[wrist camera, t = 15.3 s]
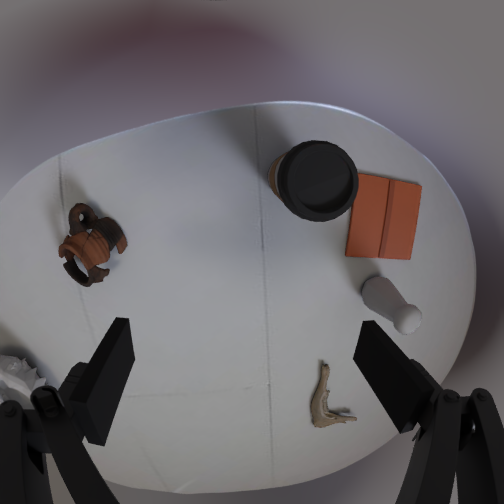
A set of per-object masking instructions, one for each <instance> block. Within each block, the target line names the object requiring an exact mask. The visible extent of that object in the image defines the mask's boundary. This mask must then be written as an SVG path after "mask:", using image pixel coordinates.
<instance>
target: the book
mask: <svg viewBox="0 0 504 504" xmlns="http://www.w3.org/2000/svg"><path fill="white" fill-rule="evenodd" d="M358 177H359V189H358V192H357V196H356V198H355V200H354V202H353V204H352V210H351V218H350V225H349V232H348V239H347V245H346V251H345V256H351V257H369V258H386V259H404V260H410V258H411V253H412V248H413V242H414V237H415V231H416V225H417V219H418V213H419V206H420V198H421V190H422V186H420V185H416V184H411V183H407V182H402V181H397V180H392V179H387V178H382V177H377V176H372V175H366V174H360V173H358Z"/></svg>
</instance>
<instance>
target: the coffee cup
mask: <svg viewBox="0 0 504 504" xmlns="http://www.w3.org/2000/svg"><path fill="white" fill-rule="evenodd" d="M268 182H269V185H270V187H271V189H272V191H273V192H274V194H275V195H276V196H277V197H278V198H279V199H280V200H281V201H282V202H283V203H284V204H285V206H286V207H287V208H288V209H289V210H290V211H291V212H292V213H293V214H295V215H297V216H298V217H300V218H302V219H306V220H309V221H314V222H325V221H329V220H332V219H335V218H337V217H338V216H340V215H342V214H343V213H345V212H346V211H347V210H348V209H349V208H350V207H351V205H352V204H353V202H354V200H355V198H356V196H357V192H358V189H359V177H358V172H357V169H356V166H355V164H354V162H353V160H352V159H351V158H350V157H349V156H348V154H347V153H346V152H345V151H344V150H343V149H341V148H340V147H338V146H337V145H335V144H332V143H330V142H327V141H316V140H311V141H307V142H302V143H300V144H298V145H297V146H295V147H293V148H292V149H291V150H290V151H288V152H286V153H285V154H283V155H282V156H280V157H279V158H278V159H276V160H275V161H274V162H273V163H272V165H271V167H270V169H269V172H268Z"/></svg>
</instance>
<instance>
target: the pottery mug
mask: <svg viewBox="0 0 504 504" xmlns="http://www.w3.org/2000/svg"><path fill="white" fill-rule="evenodd" d="M80 213H81V214H83V217H84V218H83V220H82V221H80V219H79V216H80ZM69 224H70V231H69V233H70V235H72V236H71V237H70V236H69V235H67V236H66V238H65V240H64V243H63V244H61V245H60V246H59V250H58V252H59V256H60V258H63V257H64V256H65V258H66V260H67V262H66V263H65V264H63V266H64V268H65V270H66V271H67V273H68V274H69V275H70V276H71V277H72V278H73V279H74V280H75V281H77V282H78V283H79V284H80V285H83V286H85V287H90V286H91V285H92V283H98V282H102V281H103V278H104V277H105V276H108V274H109V271H110V269H101V268H99V267H97V266H96V265H99V264H102V263H105V262H107V261H108V260H109V258H110V251H111V250H112V249H113V248H114V246H115V245H116V246H117V249H118V253H119V254H122V253H123V251H124V250H125V248H126V247H127V241H126V238H125V235H124V234H123V231H122V230H121V228H120V227H119V226H118V224H117V223H116V222H115V221H114V220H112V219H110V218H108V217H105V218H101V219H98V216H96V215H95V213H94V212H93V210H92V209H91V208H90V207H89V206H88V205H86V204H84V203H77V204H76V205H75V206H74V207H73V208H72V209H71V210H70V212H69ZM87 229H92V231H91V233H90V234H89V233H88V232H87V231H86V230H87ZM74 255H76V256H77V257H78V258H79V259H80V260H81V262H82V263H83V265H84V266H85V268H86V270H87V273H88V276H89V277H87V275H86V274H85V273H83V272H82V271H81V270H80V269H79V268H78V266H77V264H76V262H75V259H74Z"/></svg>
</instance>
